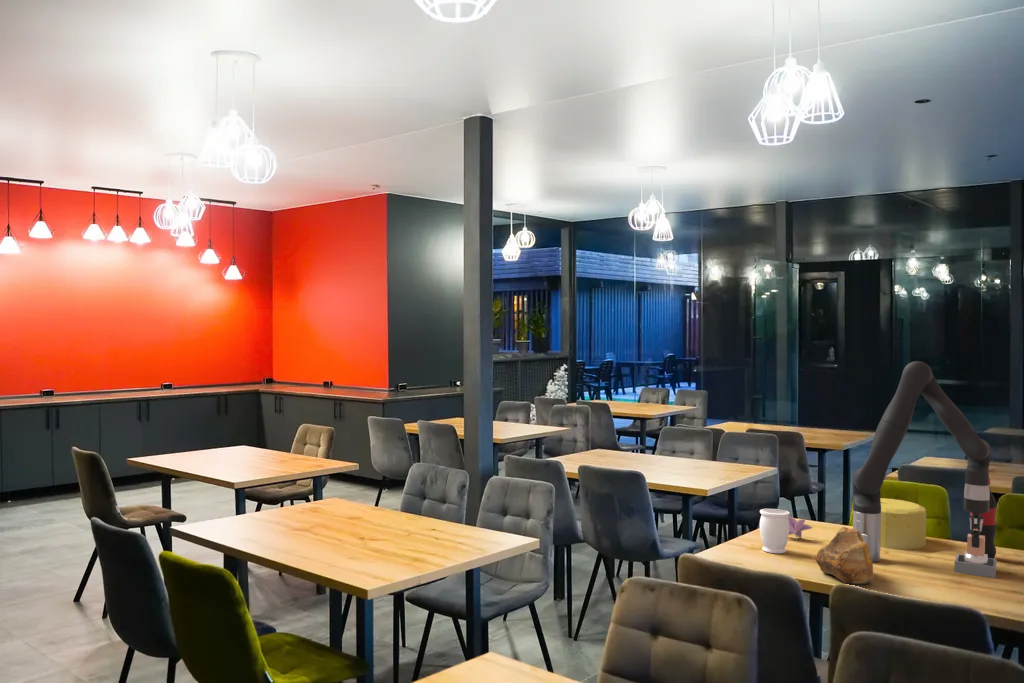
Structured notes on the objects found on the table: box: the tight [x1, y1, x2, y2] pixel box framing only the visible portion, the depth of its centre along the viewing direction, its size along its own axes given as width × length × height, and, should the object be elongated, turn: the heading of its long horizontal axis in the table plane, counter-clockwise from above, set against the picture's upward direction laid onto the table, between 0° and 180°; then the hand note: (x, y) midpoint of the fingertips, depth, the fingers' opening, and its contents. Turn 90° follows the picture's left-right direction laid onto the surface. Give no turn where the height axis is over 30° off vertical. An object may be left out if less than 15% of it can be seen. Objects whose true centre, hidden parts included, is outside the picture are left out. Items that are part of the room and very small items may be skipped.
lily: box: [788, 515, 813, 543], centre depth 317 cm, size 12×12×10 cm
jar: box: [759, 508, 790, 555], centre depth 300 cm, size 11×10×15 cm
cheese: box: [880, 497, 927, 550], centre depth 318 cm, size 26×26×15 cm
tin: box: [963, 550, 988, 565], centre depth 274 cm, size 7×7×6 cm
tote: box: [954, 553, 997, 579], centre depth 274 cm, size 12×12×4 cm
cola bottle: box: [970, 477, 997, 559], centre depth 294 cm, size 8×8×30 cm
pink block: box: [966, 533, 985, 556], centre depth 274 cm, size 5×5×6 cm
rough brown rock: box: [814, 526, 874, 585], centre depth 268 cm, size 23×17×15 cm
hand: (975, 544), depth 274 cm, fingers open, 7 cm apart
